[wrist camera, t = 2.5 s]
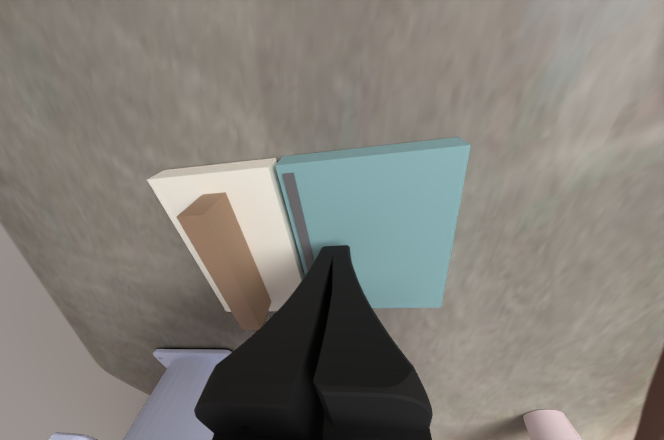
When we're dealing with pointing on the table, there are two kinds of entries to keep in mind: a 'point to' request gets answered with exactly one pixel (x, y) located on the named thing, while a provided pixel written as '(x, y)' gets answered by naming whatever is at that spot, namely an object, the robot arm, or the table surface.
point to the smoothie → (549, 426)
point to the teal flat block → (381, 214)
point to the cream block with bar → (236, 233)
